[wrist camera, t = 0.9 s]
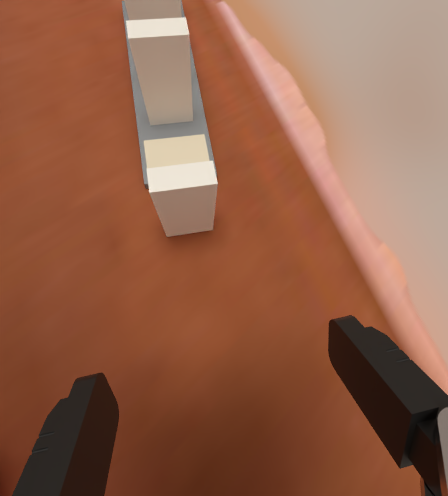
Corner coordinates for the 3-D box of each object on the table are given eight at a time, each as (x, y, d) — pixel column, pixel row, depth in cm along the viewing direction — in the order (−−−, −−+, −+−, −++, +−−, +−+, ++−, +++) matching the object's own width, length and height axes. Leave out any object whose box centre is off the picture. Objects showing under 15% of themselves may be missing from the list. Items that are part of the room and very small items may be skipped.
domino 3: (212, 229, 30) (217, 183, 20) (166, 237, 29) (149, 192, 20) (209, 213, 30) (212, 160, 21) (164, 219, 30) (146, 168, 20)
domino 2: (193, 121, 33) (189, 34, 23) (150, 125, 32) (128, 38, 22) (190, 107, 33) (185, 17, 24) (148, 111, 32) (125, 20, 23)
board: (216, 179, 32) (217, 174, 31) (146, 188, 31) (144, 183, 30) (181, 6, 39) (180, -3, 38) (123, 9, 38) (121, 0, 37)
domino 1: (186, 84, 34) (179, -12, 24) (145, 88, 33) (122, -9, 24) (183, 71, 35) (176, -27, 25) (143, 75, 34) (120, -25, 24)
